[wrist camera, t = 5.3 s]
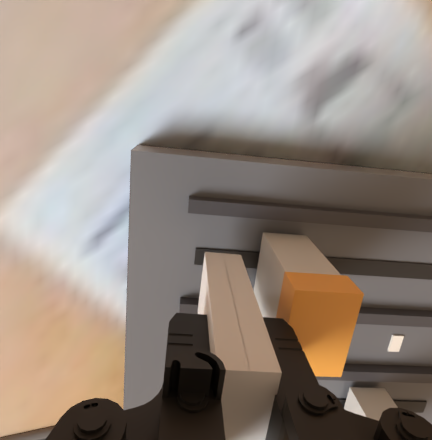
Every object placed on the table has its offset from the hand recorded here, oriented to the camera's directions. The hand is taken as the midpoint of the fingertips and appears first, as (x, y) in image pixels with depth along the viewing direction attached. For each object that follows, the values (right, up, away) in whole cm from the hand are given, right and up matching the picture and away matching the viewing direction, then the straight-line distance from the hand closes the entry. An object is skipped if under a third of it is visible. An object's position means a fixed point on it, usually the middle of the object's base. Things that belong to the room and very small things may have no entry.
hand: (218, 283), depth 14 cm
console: (+5, -2, +5) cm, 8 cm away
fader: (+3, +1, +2) cm, 3 cm away
